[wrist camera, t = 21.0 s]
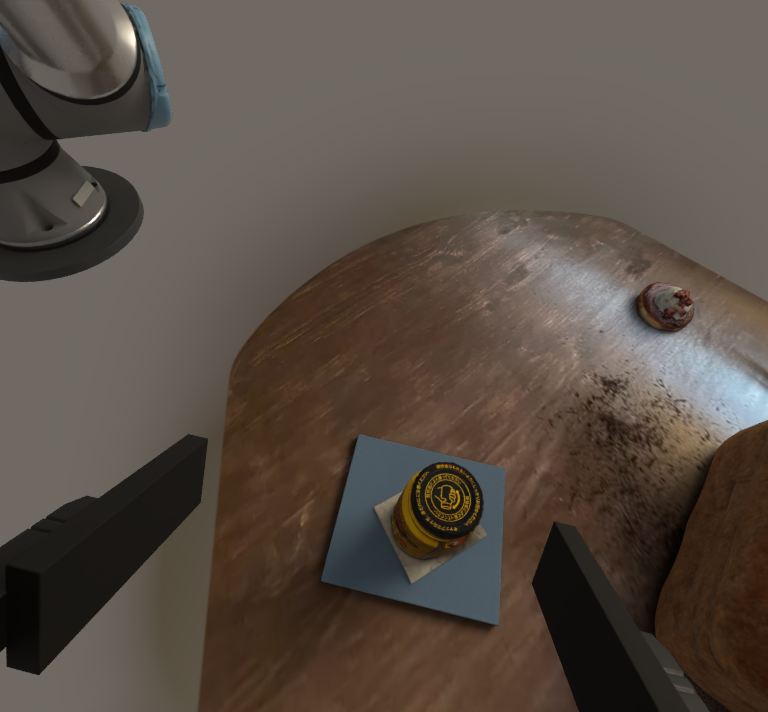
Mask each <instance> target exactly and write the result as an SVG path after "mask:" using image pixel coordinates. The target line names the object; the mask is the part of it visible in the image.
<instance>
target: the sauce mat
mask: <svg viewBox="0 0 768 712" xmlns="http://www.w3.org/2000/svg"><path fill="white" fill-rule="evenodd" d="M437 462H454V463H456V464H458V465H460V466H462V467H464V468H466V469H467V470H468V471H469V472H470V473H471V474H472V475H473V476H474V477H475V479H476V480H477V482H478V483H479V485H480V488H481V490H482V493H483V500H484V505H483V508H484V510H483V513H482V518H481V519H480V525H481V526H482V527H483V529H484V531H485V532H486V534H487V535H486V536H484V537H483V538H481V539H480V540H478V541H477V542H475V543H474V544H472V545H471V546H469V547H467V548H466V549H464V550H463V551H461V552H460V553H458V554H457V555H455V556H454V557H452V558H450V559H449V560H447V561H446V562H444V563H443V564H441V565H440V566H438V567H437V568H435V569H434V570H432V571H430V572H429V573H427V574H426V575H424V576H423V577H421V578H420V579H418V580H417V581H415V582H414V583H411V581H410V579H409V577H408V575H407V573H406V571H405V569H404V567H403V565H402V563H401V561H400V559H399V557H398V555H397V553H396V551H395V549H394V547H393V545H392V543H391V541H390V539H389V537H388V535H387V533H386V531H385V529H384V527H383V525H382V523H381V521H380V519H379V517H378V515H377V513H376V511H375V509H374V507H375V506H377V505H379V504H381V503H382V502H384V501H386V500H388V499H390V498H391V497H393V496H395V495H397V494H399V493H400V492H402V491H403V490H404V488H405V486H406V484H407V483H408V482H409V480H410V479H411V478H412V477H413V476H414V475H415V474H416V473H418V472H419V471H421V470H423V469H424V468H425V467H428V466H429V465H431V464H432V463H433V464H434V463H437ZM504 485H505V469H504V468H500V467H496V466H492V465H487V464H483V463H479V462H475V461H470V460H466V459H462V458H458V457H454V456H449V455H445V454H441V453H437V452H432V451H428V450H424V449H420V448H415V447H411V446H407V445H403V444H398V443H394V442H390V441H386V440H381V439H377V438H373V437H369V436H364V435H360V434H359V435H358V439H357V443H356V446H355V450H354V454H353V458H352V462H351V466H350V469H349V473H348V477H347V481H346V485H345V489H344V492H343V496H342V500H341V504H340V508H339V512H338V515H337V519H336V523H335V527H334V531H333V535H332V538H331V542H330V546H329V550H328V554H327V558H326V561H325V565H324V569H323V573H322V577H321V581H322V582H325V583H329V584H333V585H337V586H341V587H345V588H349V589H353V590H357V591H361V592H365V593H369V594H373V595H377V596H381V597H385V598H389V599H393V600H397V601H401V602H405V603H409V604H413V605H417V606H421V607H425V608H429V609H433V610H437V611H441V612H444V613H448V614H452V615H456V616H460V617H464V618H468V619H472V620H476V621H480V622H484V623H488V624H492V625H496V626H499V609H500V584H501V559H502V534H503V510H504Z"/></svg>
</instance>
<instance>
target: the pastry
mask: <svg viewBox="0 0 768 712" xmlns="http://www.w3.org/2000/svg"><path fill="white" fill-rule="evenodd" d="M689 293H690V292H689V291H688V290H682V289H681V288H679V287H677V286H674V285H672V284H670V283H658V282H656V283H654V284H651V285H648V286H647V287H646V288H645V289H644V290H643V291H642V293H641V294H640V295H639V296H638V299H637V310H638V313H639V315H640V316H641V317H642V318H643V320H644V321H645V322H646V323H647V324H649V325H651V326H653V327H655V328H656V329H661V330H668V331H679V330H680V329H682V328H684V327H686V326H687V324H688V323H689V322H690V321H691V320H692V318H693V315H694V304H693V303H694V302H693V301H692V299H691V298H690V294H689Z"/></svg>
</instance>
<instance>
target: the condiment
mask: <svg viewBox="0 0 768 712" xmlns="http://www.w3.org/2000/svg"><path fill="white" fill-rule="evenodd" d="M483 505H484V500H483V493H482V490H481V488H480V485H479V483H478V482H477V480H476V479H475V477H474V476H473V475H472V474H471V473H470V472H469V471H468V470H467V469H466V468H464V467H462V466H460V465H458V464H456V463H454V462H437V463H434V464H433V463H432V464H431V465H429V466H428V467H425V468H424V469H423V470H421V471H419V472H418V473H416V474H415V475H414V476H413V477H412V478H411V479H410V480H409V482H408V483H407V484H406V486H405V488H404V490H403V491H402V492H400V493H399V494H397V495H395V496H393V497H391V498H390V499H388V500H386V501H384V502H382V503H381V504H379V505H377V506H375V507H374V509H375V511H376V513H377V515H378V517H379V519H380V521H381V523H382V525H383V527H384V529H385V531H386V533H387V535H388V537H389V539H390V541H391V543H392V545H393V547H394V549H395V551H396V553H397V555H398V557H399V559H400V561H401V563H402V565H403V567H404V569H405V571H406V573H407V575H408V577H409V579H410V581H411V583H414V582H415V581H417V580H418V579H420V578H421V577H423V576H424V575H426V574H427V573H429V572H430V571H432V570H434V569H435V568H437V567H438V566H440V565H441V564H443V563H444V562H446V561H447V560H449V559H450V558H452V557H454V556H455V555H457V554H458V553H460V552H461V551H463V550H464V549H466V548H467V547H469V546H471V545H472V544H474V543H475V542H477V541H478V540H480V539H481V538H483V537H484V536H486V535H487V534H486V532H485V531H484V529H483V527H482V526H481V525H480V519H481V518H482V513H483V510H484V508H483Z"/></svg>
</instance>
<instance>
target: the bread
mask: <svg viewBox="0 0 768 712" xmlns="http://www.w3.org/2000/svg"><path fill="white" fill-rule="evenodd" d="M655 633H656V638H657V639H658V641H659V642H660V643H661V644H662V645H663V646H664V647H665V648H666V649H667V650H668V651H669V652H670V653H671V654H672V656H673V657H674V659H675V660H676V662H677V663H678V665H679V666H680V668H681V669H682V671H683V672H684V673H685V674H686V675H687V676H689V677H690V678H691V679H692V680H693V681H694V682H695V683H696V684H697V685H698V686H699V687H700V688H701V689H702V690H704V691H705V692H706V693H707V694H709V695H710V696H711V697H712V698H714V699H715V700H716V701H717V702H719V703H720V704H721V705H723V706H724V707H725V708H727V709H728V710H730V711H731V712H768V420H766V421H764V422H761V423H759V424H756V425H754V426H751V427H749V428H746V429H744V430H741V431H739V432H738V433H736V434H734V435H733V436H731V437H730V438H728V439H727V440H726V441H724V442H723V444H722V445H721V446H720V447H719V448H718V449H717V451H716V454H715V456H714V458H713V461H712V464H711V467H710V470H709V473H708V476H707V479H706V481H705V484H704V487H703V489H702V492H701V494H700V496H699V499H698V501H697V503H696V505H695V507H694V509H693V511H692V513H691V515H690V518H689V520H688V522H687V525H686V529H685V533H684V537H683V540H682V544H681V547H680V550H679V552H678V555H677V557H676V560H675V562H674V564H673V567H672V569H671V571H670V573H669V575H668V577H667V579H666V581H665V583H664V586H663V588H662V590H661V594H660V597H659V600H658V604H657V610H656V615H655Z"/></svg>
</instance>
